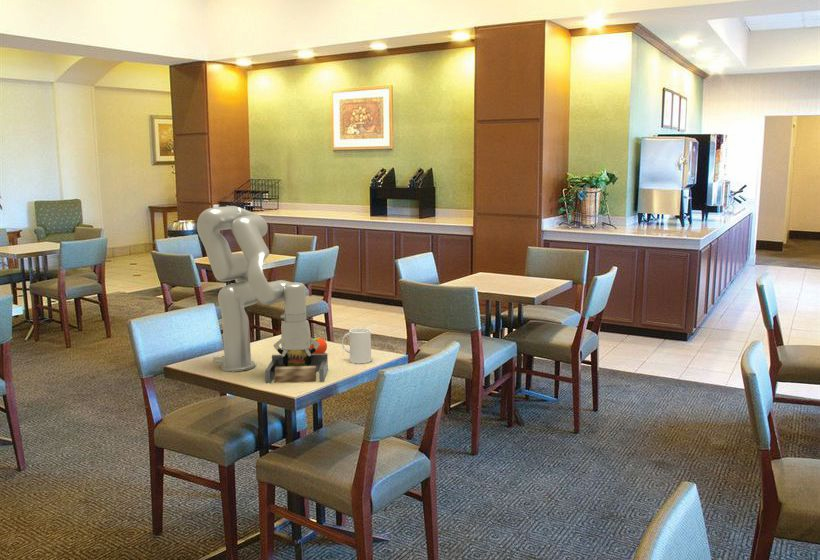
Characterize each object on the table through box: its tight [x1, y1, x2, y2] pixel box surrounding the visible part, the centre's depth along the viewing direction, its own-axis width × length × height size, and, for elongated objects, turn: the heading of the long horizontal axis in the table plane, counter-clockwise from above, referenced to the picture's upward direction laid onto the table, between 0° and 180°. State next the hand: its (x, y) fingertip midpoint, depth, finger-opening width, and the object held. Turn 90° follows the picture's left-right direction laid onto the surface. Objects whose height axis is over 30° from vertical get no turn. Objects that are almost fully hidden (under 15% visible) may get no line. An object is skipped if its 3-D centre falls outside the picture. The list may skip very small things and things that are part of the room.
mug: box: [341, 327, 373, 365], centre depth 265 cm, size 12×8×12 cm
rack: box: [264, 353, 329, 384], centre depth 247 cm, size 20×15×6 cm
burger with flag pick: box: [286, 350, 307, 366], centre depth 247 cm, size 8×7×12 cm
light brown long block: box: [273, 366, 318, 383], centre depth 241 cm, size 14×3×5 cm, turn 91°
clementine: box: [310, 337, 328, 354], centre depth 274 cm, size 8×7×7 cm
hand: (297, 365), depth 248 cm, fingers closed on burger with flag pick, 7 cm apart
